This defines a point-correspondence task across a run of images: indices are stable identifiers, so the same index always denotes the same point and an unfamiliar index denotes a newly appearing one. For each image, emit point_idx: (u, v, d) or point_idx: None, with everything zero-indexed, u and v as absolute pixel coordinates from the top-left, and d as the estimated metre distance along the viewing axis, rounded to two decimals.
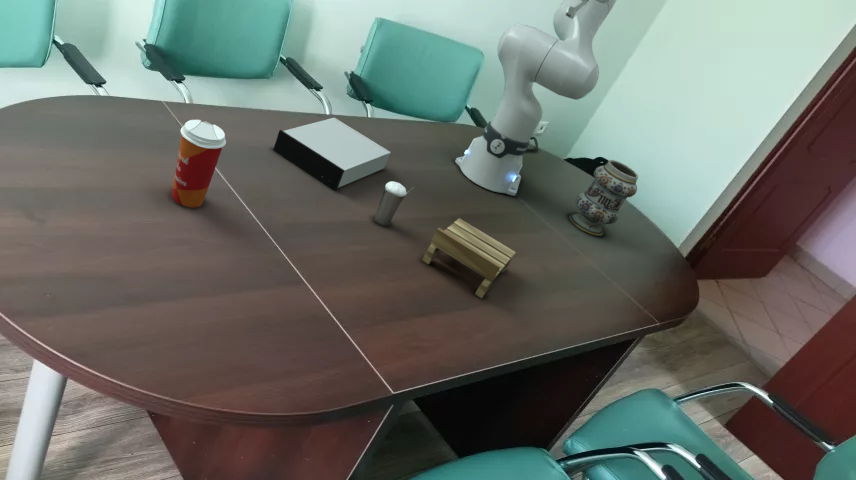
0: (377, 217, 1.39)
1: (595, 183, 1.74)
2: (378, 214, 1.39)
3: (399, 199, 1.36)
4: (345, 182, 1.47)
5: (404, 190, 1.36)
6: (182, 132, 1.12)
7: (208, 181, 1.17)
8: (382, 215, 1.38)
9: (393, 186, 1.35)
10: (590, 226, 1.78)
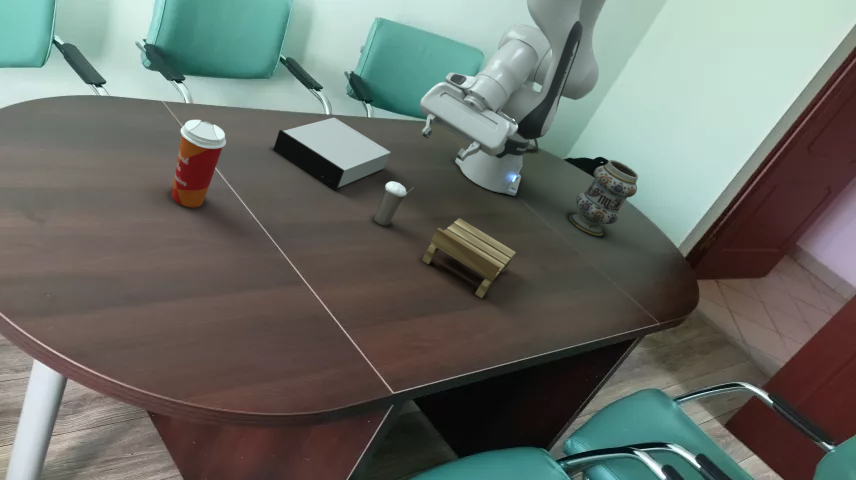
0: (377, 217, 1.39)
1: (595, 183, 1.74)
2: (378, 214, 1.39)
3: (399, 199, 1.36)
4: (345, 182, 1.47)
5: (404, 190, 1.36)
6: (182, 132, 1.12)
7: (208, 181, 1.17)
8: (382, 215, 1.38)
9: (393, 186, 1.35)
10: (590, 226, 1.78)
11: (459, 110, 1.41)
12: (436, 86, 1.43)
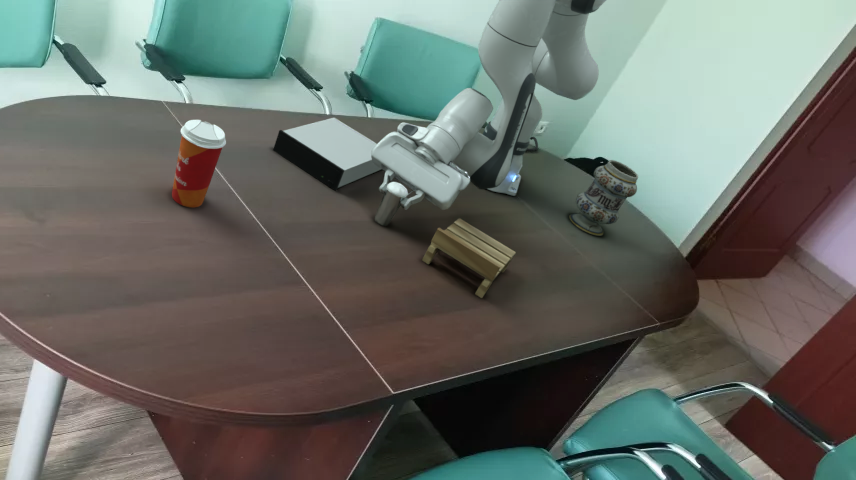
0: (377, 217, 1.39)
1: (595, 183, 1.74)
2: (378, 214, 1.39)
3: (400, 200, 1.35)
4: (345, 182, 1.47)
5: (406, 191, 1.36)
6: (182, 132, 1.12)
7: (208, 181, 1.17)
8: (382, 215, 1.38)
9: (395, 187, 1.35)
10: (590, 226, 1.78)
11: (410, 162, 1.37)
12: (387, 137, 1.39)
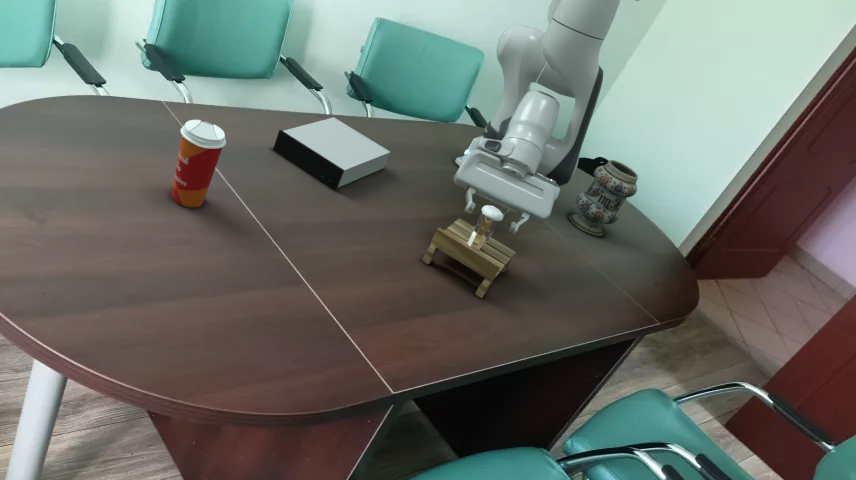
0: (473, 243, 1.34)
1: (595, 183, 1.74)
2: (475, 240, 1.34)
3: (499, 223, 1.31)
4: (345, 182, 1.47)
5: (501, 213, 1.32)
6: (182, 132, 1.12)
7: (208, 181, 1.17)
8: (480, 241, 1.33)
9: (493, 212, 1.30)
10: (590, 226, 1.78)
11: (500, 180, 1.32)
12: (470, 156, 1.32)
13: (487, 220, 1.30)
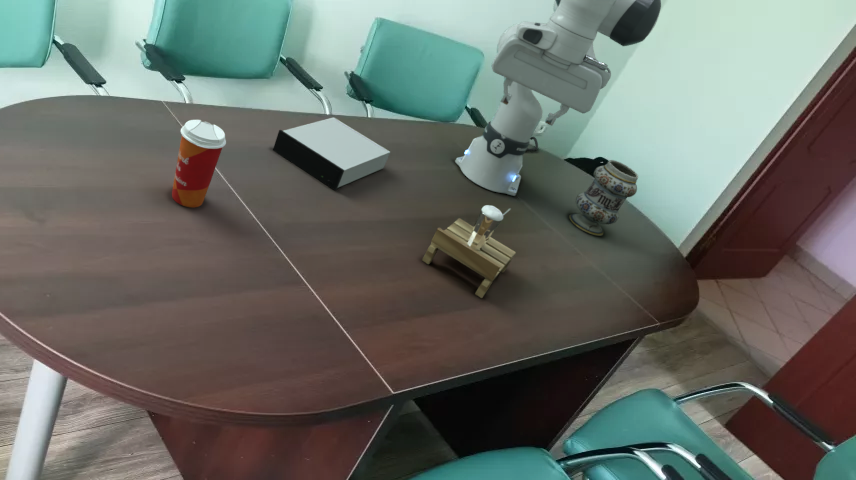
0: (473, 243, 1.34)
1: (595, 183, 1.74)
2: (475, 240, 1.34)
3: (499, 223, 1.31)
4: (345, 182, 1.47)
5: (501, 213, 1.32)
6: (182, 132, 1.12)
7: (208, 181, 1.17)
8: (480, 241, 1.33)
9: (493, 212, 1.30)
10: (590, 226, 1.78)
11: (539, 71, 1.23)
12: (507, 47, 1.22)
13: (487, 220, 1.30)
